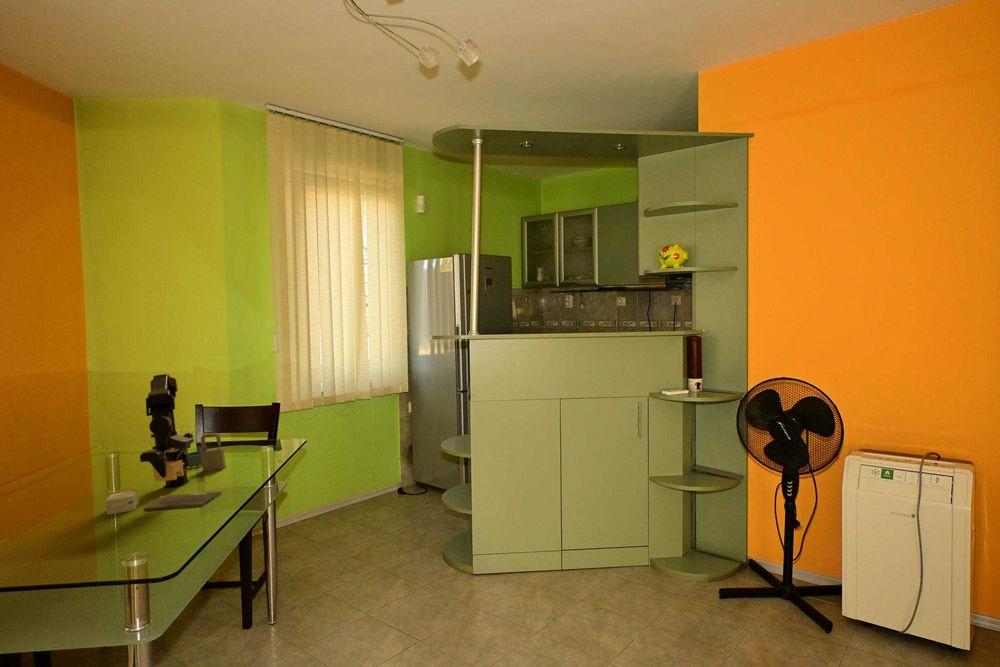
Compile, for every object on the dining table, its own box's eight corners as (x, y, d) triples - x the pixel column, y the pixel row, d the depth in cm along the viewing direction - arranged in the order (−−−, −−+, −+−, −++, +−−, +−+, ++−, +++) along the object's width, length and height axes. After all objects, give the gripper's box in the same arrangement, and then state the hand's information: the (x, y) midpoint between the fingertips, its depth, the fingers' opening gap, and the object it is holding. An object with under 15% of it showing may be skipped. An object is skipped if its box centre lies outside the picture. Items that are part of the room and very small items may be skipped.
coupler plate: (143, 510, 190) (142, 503, 189) (165, 498, 202) (165, 491, 201) (202, 506, 189) (201, 499, 189) (221, 493, 201) (220, 487, 201)
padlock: (223, 469, 234) (218, 433, 233) (202, 472, 233) (197, 435, 232) (226, 466, 238) (222, 431, 237) (205, 469, 237) (201, 433, 236)
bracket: (209, 464, 244) (206, 444, 244) (184, 469, 240) (182, 448, 239) (207, 460, 252) (205, 440, 252) (183, 465, 247) (181, 444, 247)
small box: (106, 515, 188) (104, 500, 188) (113, 508, 196) (111, 493, 195) (134, 510, 191) (132, 495, 191) (139, 503, 198) (137, 489, 198)
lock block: (154, 481, 192) (152, 466, 192) (164, 476, 198) (162, 461, 197) (174, 479, 192) (172, 464, 192) (183, 475, 197) (182, 460, 197)
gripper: (169, 434, 184) (175, 481, 185) (201, 421, 203) (206, 464, 204) (135, 437, 185) (142, 484, 186) (171, 424, 203) (176, 467, 204)
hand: (168, 474), depth 195 cm, fingers closed on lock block, 5 cm apart
